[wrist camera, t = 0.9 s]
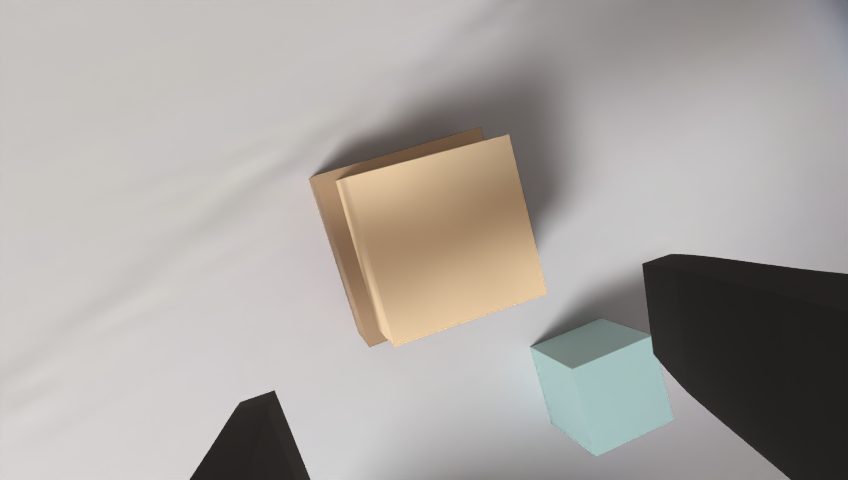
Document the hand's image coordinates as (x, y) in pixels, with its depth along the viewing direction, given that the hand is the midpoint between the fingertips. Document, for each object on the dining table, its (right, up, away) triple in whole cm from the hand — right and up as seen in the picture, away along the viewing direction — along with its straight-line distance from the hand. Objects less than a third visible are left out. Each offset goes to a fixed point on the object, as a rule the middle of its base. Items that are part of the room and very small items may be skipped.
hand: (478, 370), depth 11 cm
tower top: (-1, +3, +12) cm, 13 cm away
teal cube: (+6, -4, +18) cm, 19 cm away
